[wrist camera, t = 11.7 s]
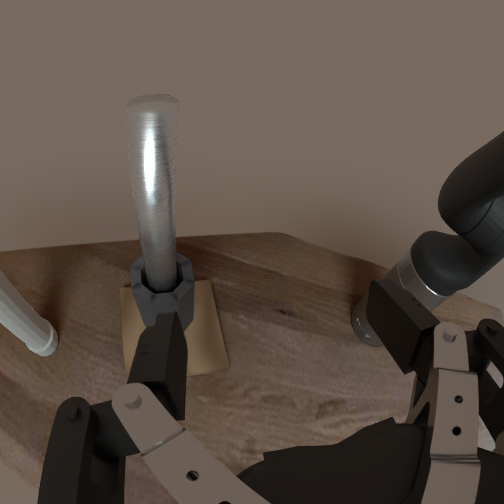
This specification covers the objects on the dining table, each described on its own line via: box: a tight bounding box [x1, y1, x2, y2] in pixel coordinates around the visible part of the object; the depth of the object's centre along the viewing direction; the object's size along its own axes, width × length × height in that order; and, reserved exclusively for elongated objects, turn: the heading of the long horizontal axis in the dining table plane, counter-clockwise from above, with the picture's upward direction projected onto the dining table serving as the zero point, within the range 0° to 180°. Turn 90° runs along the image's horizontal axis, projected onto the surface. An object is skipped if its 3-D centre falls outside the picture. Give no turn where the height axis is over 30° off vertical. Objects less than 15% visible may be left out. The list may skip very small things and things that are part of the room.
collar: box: [131, 251, 195, 332], centre depth 29 cm, size 6×6×9 cm
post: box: [121, 94, 230, 381], centre depth 25 cm, size 14×14×32 cm
